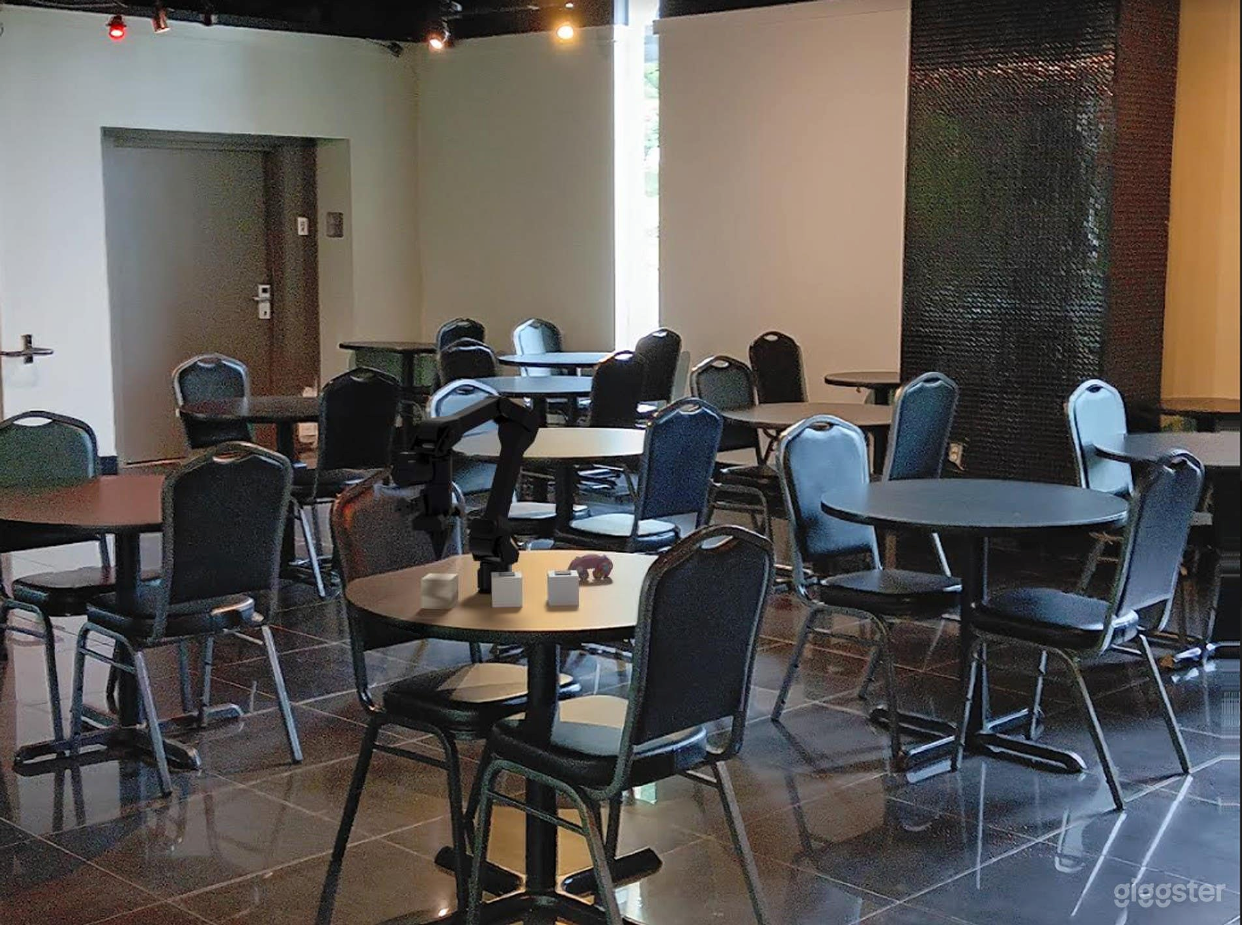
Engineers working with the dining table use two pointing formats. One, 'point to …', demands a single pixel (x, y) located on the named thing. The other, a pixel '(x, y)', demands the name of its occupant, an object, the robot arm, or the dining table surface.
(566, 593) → the grey numbered cube
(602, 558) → the video game controller
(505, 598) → the off-white numbered cube
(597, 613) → the dining table surface
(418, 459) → the robot arm
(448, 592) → the plain ash cube
